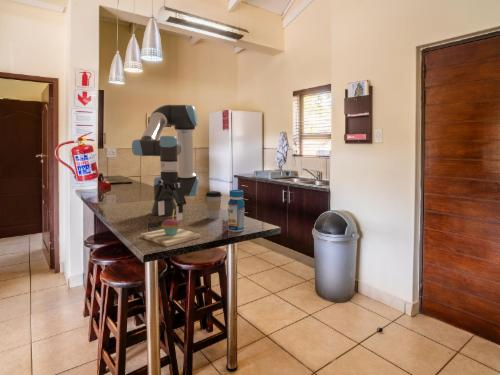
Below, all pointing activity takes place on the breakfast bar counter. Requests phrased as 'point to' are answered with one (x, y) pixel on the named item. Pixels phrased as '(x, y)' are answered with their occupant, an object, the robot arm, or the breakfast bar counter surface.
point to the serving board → (170, 237)
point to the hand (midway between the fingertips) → (170, 217)
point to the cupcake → (170, 226)
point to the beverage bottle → (236, 211)
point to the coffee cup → (213, 204)
